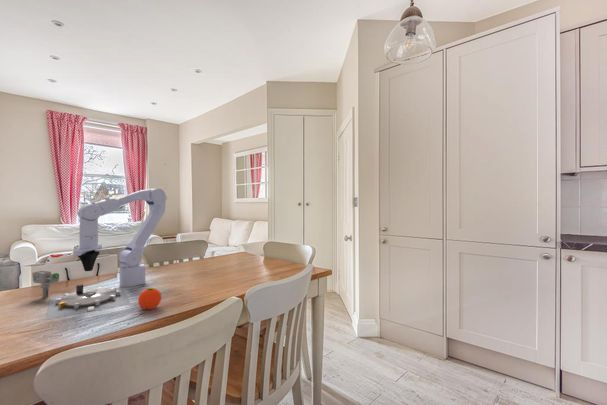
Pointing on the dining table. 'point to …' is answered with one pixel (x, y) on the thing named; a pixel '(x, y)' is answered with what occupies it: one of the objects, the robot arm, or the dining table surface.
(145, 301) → the clementine
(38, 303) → the dining table surface
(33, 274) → the mechanical component
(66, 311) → the index board
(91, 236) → the robot arm
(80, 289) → the sprocket
